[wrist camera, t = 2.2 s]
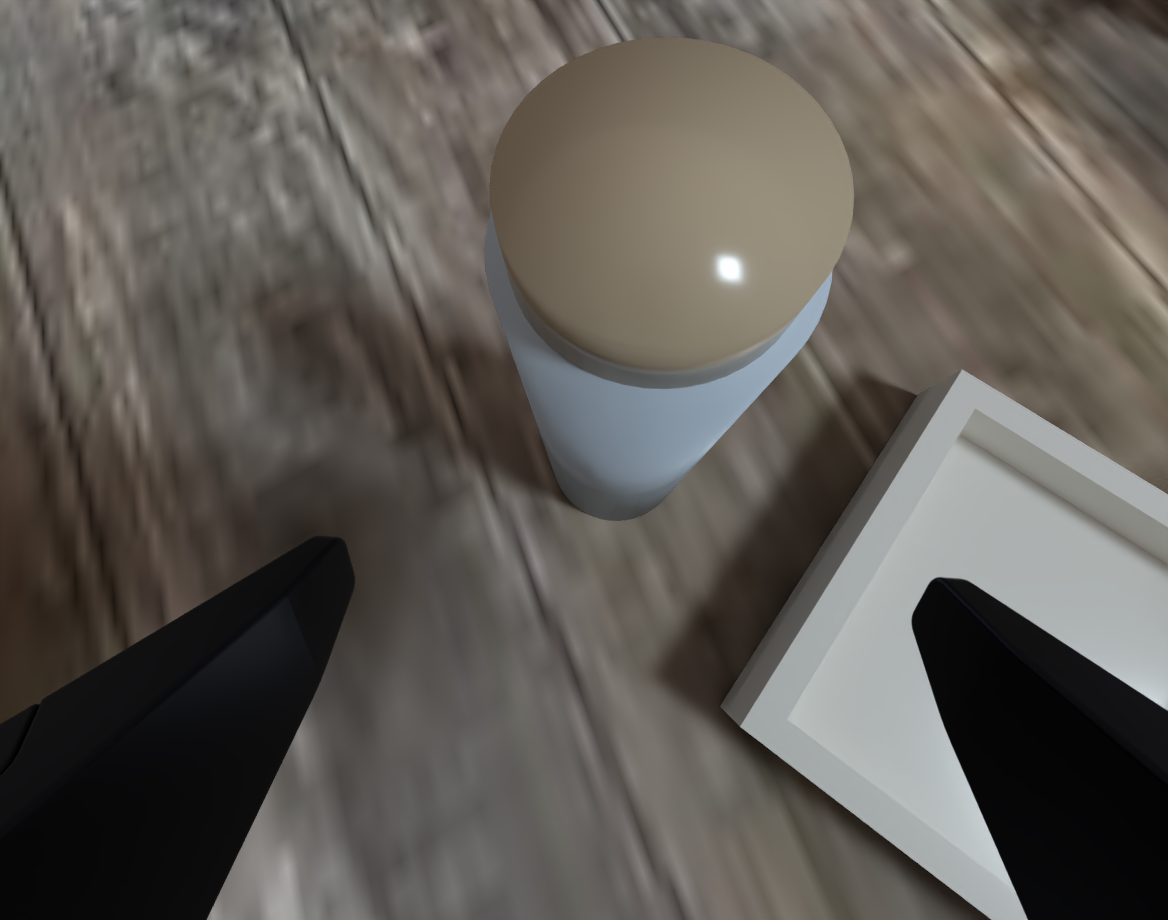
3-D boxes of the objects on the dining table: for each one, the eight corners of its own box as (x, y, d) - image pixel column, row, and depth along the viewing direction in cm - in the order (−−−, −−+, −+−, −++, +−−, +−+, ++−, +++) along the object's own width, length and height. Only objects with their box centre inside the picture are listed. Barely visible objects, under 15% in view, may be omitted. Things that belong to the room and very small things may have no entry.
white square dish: (1106, 1002, 16) (1199, 1079, 13) (719, 706, 18) (740, 726, 15) (1275, 617, 18) (1380, 623, 16) (917, 394, 20) (962, 369, 18)
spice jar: (630, 547, 19) (732, 463, 5) (527, 471, 20) (378, 221, 6) (703, 444, 20) (956, 141, 6) (601, 375, 21) (621, -39, 7)
